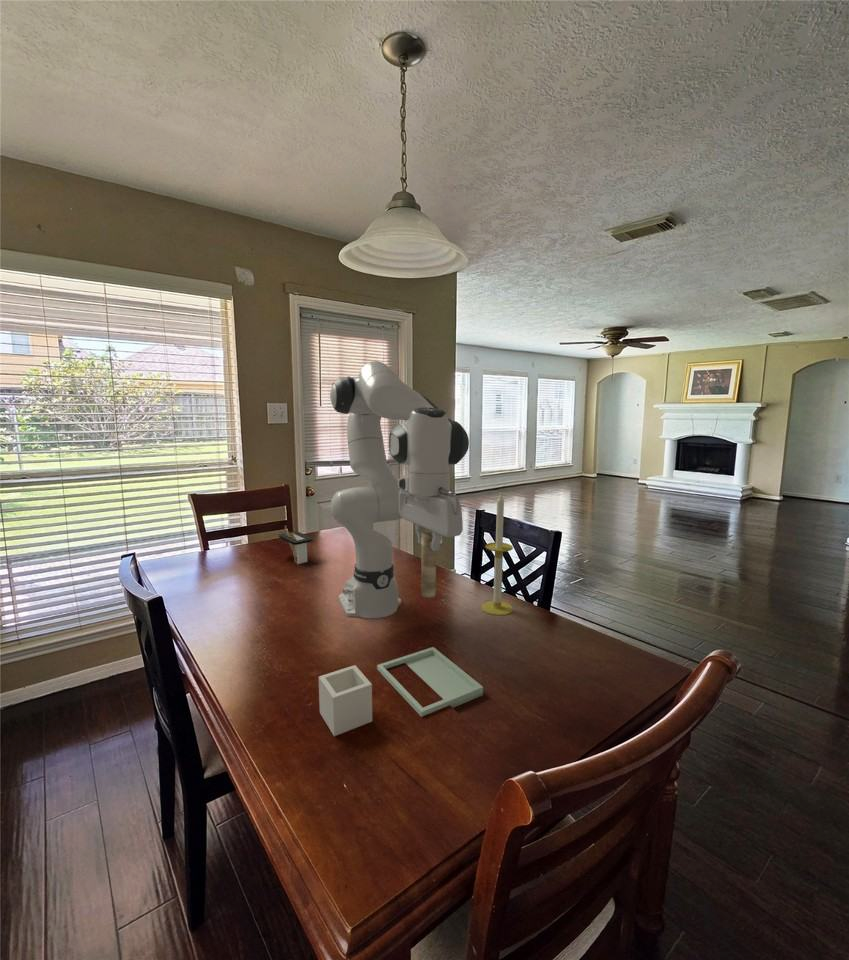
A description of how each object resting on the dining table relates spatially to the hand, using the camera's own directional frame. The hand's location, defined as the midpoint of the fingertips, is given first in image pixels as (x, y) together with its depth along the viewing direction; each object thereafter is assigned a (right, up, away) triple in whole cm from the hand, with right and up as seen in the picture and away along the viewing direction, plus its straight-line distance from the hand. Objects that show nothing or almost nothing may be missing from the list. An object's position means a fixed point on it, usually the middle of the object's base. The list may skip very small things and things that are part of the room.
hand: (428, 546), depth 100 cm
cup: (-17, -34, -8) cm, 39 cm away
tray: (0, -32, +5) cm, 33 cm away
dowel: (0, -11, +2) cm, 11 cm away
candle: (+22, -26, +45) cm, 56 cm away
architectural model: (-54, -19, +90) cm, 107 cm away
